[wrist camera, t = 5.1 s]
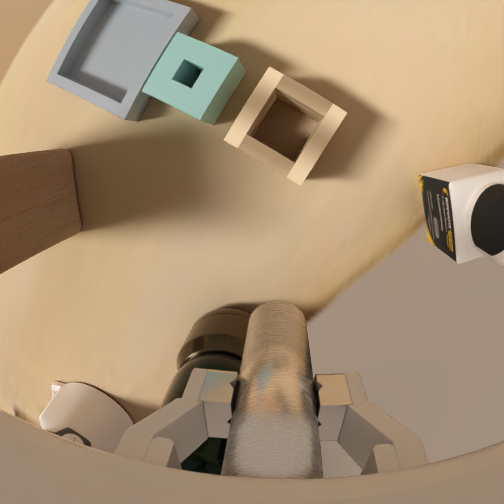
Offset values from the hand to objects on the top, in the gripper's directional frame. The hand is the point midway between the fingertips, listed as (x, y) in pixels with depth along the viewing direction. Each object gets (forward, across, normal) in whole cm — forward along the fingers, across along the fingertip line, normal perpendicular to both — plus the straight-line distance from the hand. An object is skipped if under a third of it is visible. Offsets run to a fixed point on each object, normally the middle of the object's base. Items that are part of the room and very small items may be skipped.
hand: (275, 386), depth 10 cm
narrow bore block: (+22, +7, -14) cm, 27 cm away
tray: (+22, +16, -20) cm, 33 cm away
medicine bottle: (+21, -18, -4) cm, 28 cm away
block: (+22, +27, -4) cm, 35 cm away
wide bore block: (+21, -1, -10) cm, 24 cm away
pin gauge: (+4, 0, 0) cm, 4 cm away
